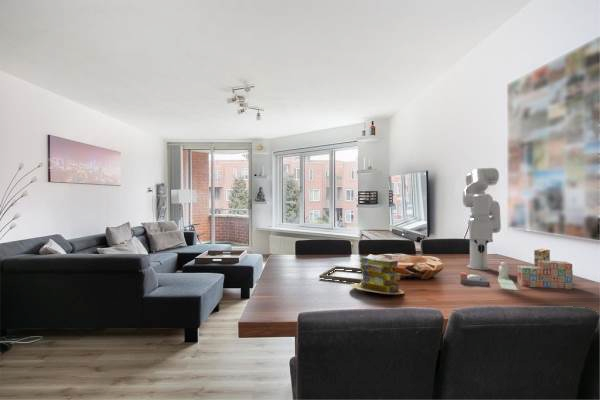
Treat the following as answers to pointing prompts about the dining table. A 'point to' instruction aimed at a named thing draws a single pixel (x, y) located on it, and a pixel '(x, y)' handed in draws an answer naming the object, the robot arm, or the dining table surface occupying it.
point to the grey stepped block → (473, 282)
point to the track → (507, 284)
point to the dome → (474, 277)
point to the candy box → (541, 255)
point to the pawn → (503, 271)
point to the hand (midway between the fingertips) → (481, 252)
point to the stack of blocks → (546, 275)
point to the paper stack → (378, 275)
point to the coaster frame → (324, 275)
